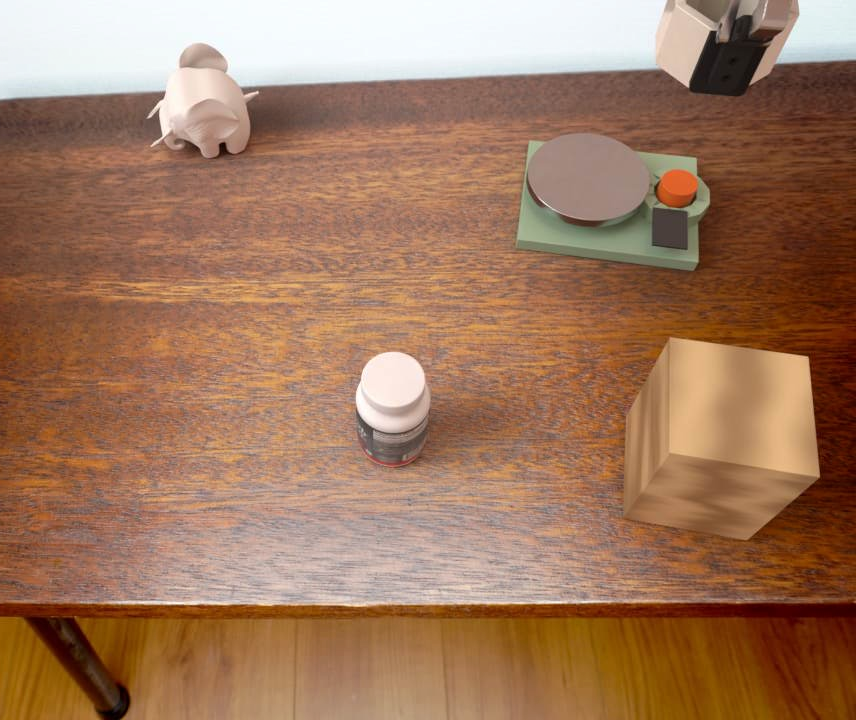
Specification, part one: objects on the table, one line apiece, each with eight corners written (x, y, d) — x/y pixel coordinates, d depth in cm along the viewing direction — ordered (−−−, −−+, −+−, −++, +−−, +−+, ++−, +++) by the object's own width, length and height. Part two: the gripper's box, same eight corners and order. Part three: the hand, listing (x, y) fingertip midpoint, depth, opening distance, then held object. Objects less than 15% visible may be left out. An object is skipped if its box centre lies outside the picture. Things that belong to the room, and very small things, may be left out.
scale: (698, 168, 81) (708, 145, 78) (700, 272, 74) (711, 251, 72) (527, 150, 83) (532, 127, 81) (515, 248, 77) (519, 227, 74)
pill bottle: (357, 406, 69) (354, 344, 61) (425, 406, 69) (431, 343, 60) (357, 469, 66) (354, 412, 58) (427, 469, 66) (434, 412, 57)
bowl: (763, 27, 53) (793, -37, 49) (770, 100, 50) (803, 37, 46) (653, 19, 54) (675, -45, 50) (653, 89, 51) (676, 27, 47)
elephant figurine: (149, 120, 89) (128, 51, 82) (257, 99, 90) (246, 29, 82) (158, 182, 84) (136, 116, 77) (272, 160, 85) (261, 92, 77)
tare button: (692, 184, 76) (698, 171, 75) (692, 210, 75) (698, 197, 73) (656, 180, 77) (661, 167, 75) (655, 206, 75) (661, 193, 74)
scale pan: (686, 150, 78) (689, 143, 77) (687, 250, 72) (690, 243, 71) (531, 134, 80) (532, 127, 79) (519, 229, 74) (521, 222, 73)
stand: (742, 434, 66) (808, 356, 56) (746, 540, 61) (820, 477, 51) (625, 416, 67) (669, 336, 57) (622, 518, 63) (669, 452, 53)
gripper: (988, -182, 31) (787, 156, 47) (917, -368, 40) (767, -30, 55) (779, -190, 32) (650, 142, 48) (754, -369, 41) (651, -38, 56)
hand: (713, 48), depth 51 cm, fingers closed on bowl, 6 cm apart
